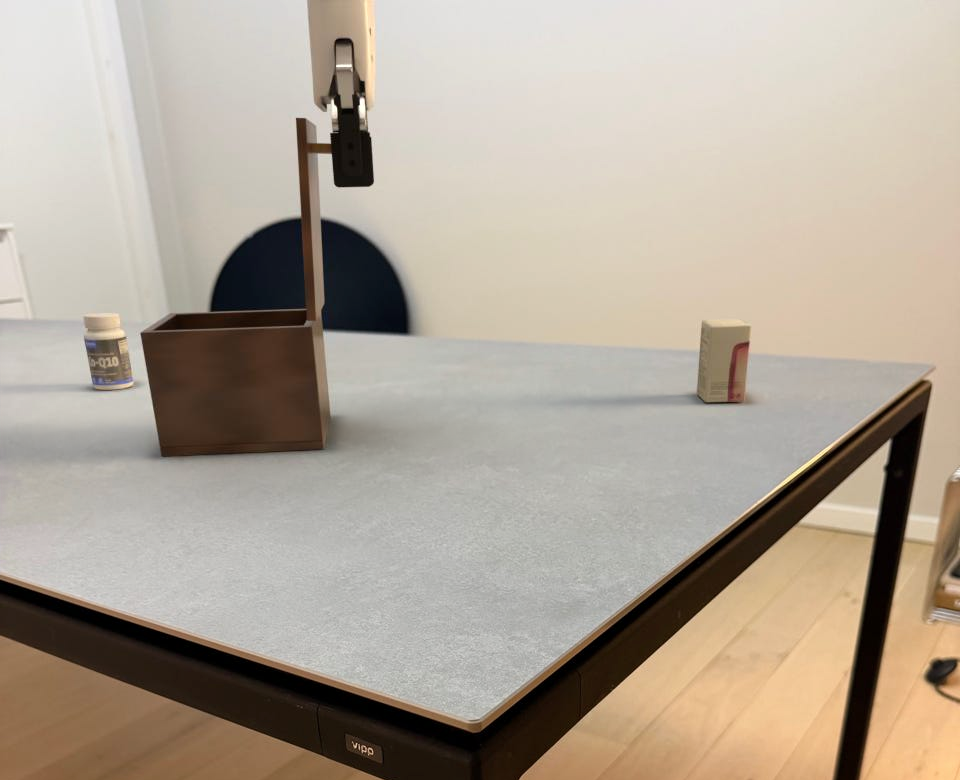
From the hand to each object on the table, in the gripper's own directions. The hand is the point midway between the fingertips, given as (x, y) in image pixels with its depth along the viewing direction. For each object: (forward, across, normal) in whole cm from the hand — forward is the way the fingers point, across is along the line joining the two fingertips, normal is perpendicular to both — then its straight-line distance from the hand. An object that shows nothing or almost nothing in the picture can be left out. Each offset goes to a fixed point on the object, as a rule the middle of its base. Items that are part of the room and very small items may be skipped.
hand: (355, 186), depth 83 cm
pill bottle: (+22, -28, -32) cm, 48 cm away
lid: (+3, 0, -4) cm, 5 cm away
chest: (+22, 0, -12) cm, 25 cm away
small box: (+22, -8, +37) cm, 44 cm away
